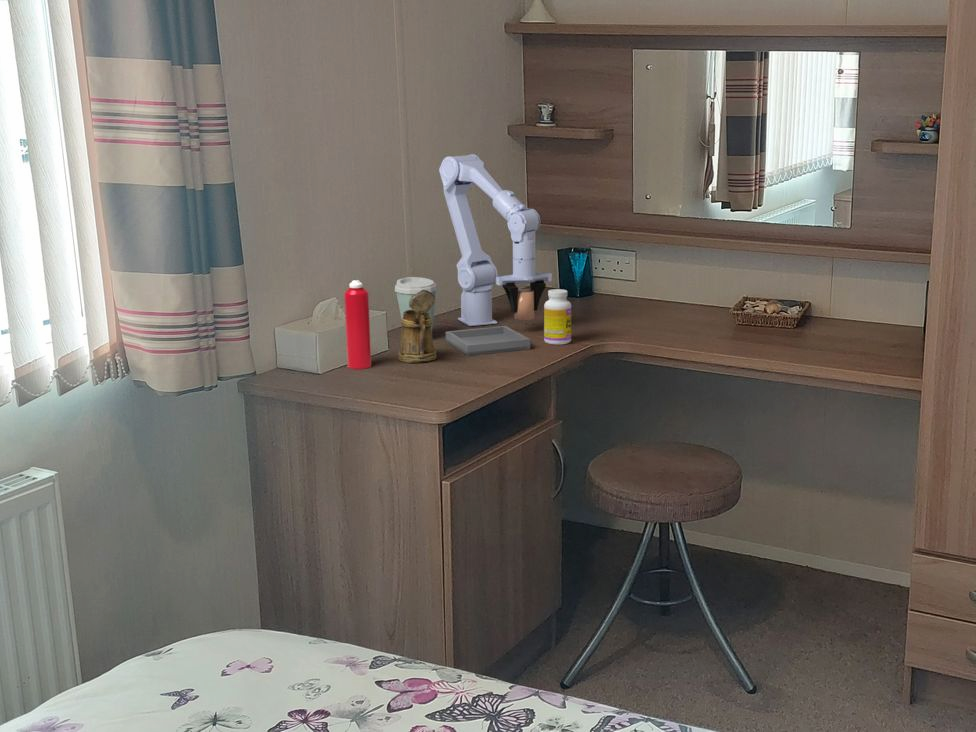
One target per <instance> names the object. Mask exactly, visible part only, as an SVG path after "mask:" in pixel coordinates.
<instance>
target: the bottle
mask: <svg viewBox="0 0 976 732" xmlns="http://www.w3.org/2000/svg"><path fill="white" fill-rule="evenodd" d="M348 285H349V288H347V289H346V290H345V291H344V294H343V296H344V297H343V299H344V317H345V338H346V339H345V340H346V341H345V342H346V357H347V358H346V359H347V361H346V362H347V368H349V369H351V370H365V369H369V368H371V367H372V347H371V345H372V344H371V343H372V342H371V326H370V325H371V322H370V299H369V296H370V294H369V291H368V289H366V288H364V287H363V283H362V282H361V281H360V280H359V279H353V280H352V281H351V282H350V283H349V284H348Z"/></svg>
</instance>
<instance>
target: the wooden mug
mask: <svg viewBox="0 0 976 732" xmlns="http://www.w3.org/2000/svg"><path fill="white" fill-rule="evenodd" d="M435 302H436V295H435V296H434V294H432V293H431V292H429V291H426V290H422V291H420V292H418V293H416V294H415V295H413V296H412V297H411V299H410V301H409V307H410V308H411V309H412V310H406V311H404V312H403V318H402V319H401V323H400V324H401V333H400V342H399V343H400V344H399V350H398V352H397V361H400V362H402V363H406V364H407V363H408V364H422V363H423V364H424V363H428V362H429V363H430V362H433V361H435V360H436V358H437V352H436V349H435V348H434V347H435V346H434V340H433V334H432V333H433V331H432V332H431V325H432V321H431V318H430V316H429V312H428V311H429V310H430V309H431V308H432V307H433V305H434V303H435ZM434 306H435V305H434Z"/></svg>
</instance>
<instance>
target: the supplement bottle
mask: <svg viewBox="0 0 976 732" xmlns="http://www.w3.org/2000/svg"><path fill="white" fill-rule="evenodd" d="M547 296H548V300H546V301H545V303H544V304H543V309H544V310H543V313H544V314H543V316H544V317H543V319H544V320H543V323H544V324H543V339H544V342H545V343H546V344H548V345H555V346H556V345H557V346H559V345H567V344H569V343H571V341H572V303H571V302H570V301H569V300H568V299H567V297H568V290H566V289H561V288H560V289H559V288H555V289H549V290H548V291H547Z"/></svg>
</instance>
